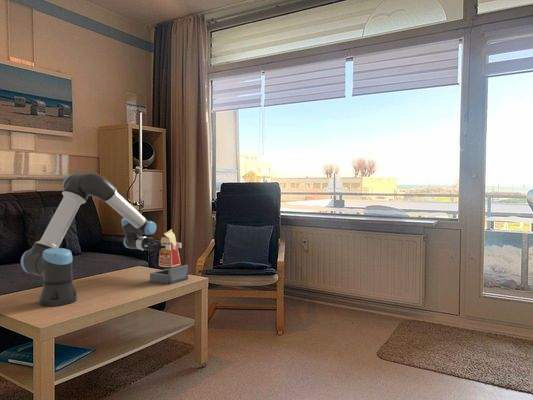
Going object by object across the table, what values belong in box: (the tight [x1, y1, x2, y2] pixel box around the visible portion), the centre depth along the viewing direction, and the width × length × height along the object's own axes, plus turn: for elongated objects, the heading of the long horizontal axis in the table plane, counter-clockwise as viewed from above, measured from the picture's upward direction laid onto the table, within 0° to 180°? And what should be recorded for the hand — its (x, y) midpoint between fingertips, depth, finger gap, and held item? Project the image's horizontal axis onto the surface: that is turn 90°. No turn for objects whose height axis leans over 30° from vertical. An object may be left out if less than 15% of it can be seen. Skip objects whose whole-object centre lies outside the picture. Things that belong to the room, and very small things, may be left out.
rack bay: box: [149, 264, 189, 285], centre depth 220 cm, size 14×15×8 cm
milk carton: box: [158, 228, 182, 268], centre depth 219 cm, size 9×9×20 cm
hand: (175, 246), depth 217 cm, fingers closed on milk carton, 7 cm apart
